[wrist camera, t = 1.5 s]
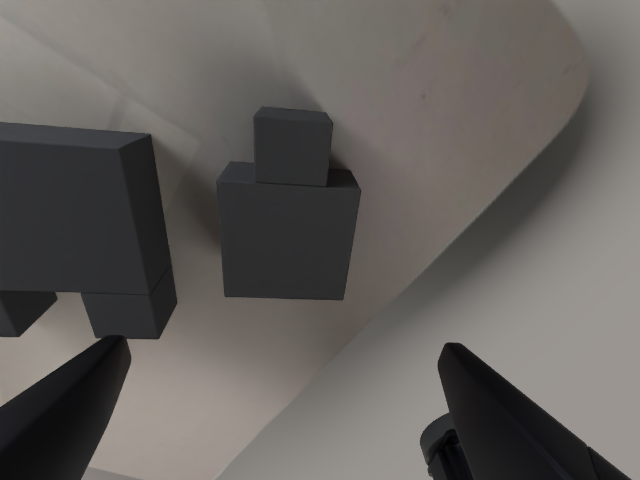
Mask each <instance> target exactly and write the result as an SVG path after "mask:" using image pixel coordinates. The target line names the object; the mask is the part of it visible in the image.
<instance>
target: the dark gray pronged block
mask: <svg viewBox="0 0 640 480" xmlns="http://www.w3.org/2000/svg"><path fill="white" fill-rule="evenodd" d="M170 262H171V258H170V252H169V245H168V239H167V233H166V226H165V220H164V214H163V208H162V201H161V195H160V189H159V182H158V176H157V170H156V164H155V157H154V151H153V145H152V138H151V134H144V133H131V132H118V131H105V130H93V129H80V128H67V127H55V126H42V125H29V124H17V123H4V122H0V337H20V336H21V335H22V334H23V333H24V332H25V331H26V330H27V329H28V328H29V327H30V326H31V325H32V324H33V323H34V322H35V321H36V320H37V319H38V318H39V317H40V316H41V315H42V314H43V313H44V312H45V311H47V310H48V309H49V308H50V307H51V306H52V305H53V304H54V303H55V302H56V301H57V296H56V294H55V292H79V293H81V297H82V300H83V303H84V306H85V308H86V311H87V314H88V317H89V320H90V323H91V326H92V329H93V332H94V335H95V337H96V338H104V337H105V336H107V335H123V336H125V337H126V339H159V338H160V336H161V334H162V332H163V330H164V328H165V326H166V325H167V323H168V321H169V319H170V317H171V315H172V313H173V311H174V309H175V307H176V305H177V297H176V291H175V284H174V278H173V272H172V266H171V263H170Z"/></svg>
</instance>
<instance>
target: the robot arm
mask: <svg viewBox="0 0 640 480" xmlns="http://www.w3.org/2000/svg"><path fill="white" fill-rule="evenodd" d="M130 364H131V354H130V350H129V346H128V343H127V339H126V337H125V336H123V335H107V336H105V337H104V338H102V339H101V340H99V341H98V342H96V343H95V344H93V345H92V346H90V347H89V348H87V349H86V350H84V351H83V352H81V353H80V354H78V355H77V356H75V357H74V358H72V359H71V360H69V361H68V362H66V363H65V364H63V365H62V366H60V367H59V368H58V369H56V370H55V371H53V372H52V373H50V374H49V375H47V376H46V377H44V378H43V379H41V380H40V381H38V382H37V383H35V384H34V385H32V386H31V387H29V388H28V389H26V390H25V391H23V392H22V393H20V394H19V395H17V396H16V397H14V398H13V399H12V400H10V401H9V402H7V403H6V404H4V405H3V406H1V407H0V480H81V478H82V476H83V474H84V472H85V470H86V468H87V466H88V464H89V462H90V460H91V458H92V456H93V454H94V452H95V450H96V448H97V446H98V444H99V442H100V440H101V438H102V436H103V434H104V431H105V429H106V427H107V425H108V423H109V420H110V418H111V415H112V413H113V410H114V407H115V405H116V402H117V399H118V397H119V394H120V391H121V389H122V386H123V383H124V381H125V378H126V375H127V372H128V370H129V367H130ZM438 371H439V375H440V378H441V382H442V386H443V389H444V393H445V397H446V401H447V404H448V408H449V412H450V415H451V419H452V422H453V425H454V428H455V429H449V430H447V431H446V432H445V434H444V436H443V438H442V440H441V442H440V444H439V446H438V448H437V450H436V452H435V455H434V457H433V459H432V461H431V463H430V465H429V467H428V473H429V475H430V476H431V477H433V479H434V480H631V479H630V478H628V477H627V476H626V475H625V474H624V473H622V472H621V471H619V470H618V469H617V468H616V467H615V466H613V465H612V464H611V463H609V462H608V461H607V460H606V459H604V458H603V457H602V456H601V455H599V454H598V453H597V452H596V451H594V450H593V449H592V448H591V447H589V446H587V445H586V444H585V443H584V442H583V441H582V440H581V439H579V438H578V437H577V436H575V435H574V434H573V433H572V432H571V431H569V430H568V429H567V428H566V427H564V426H563V425H562V424H561V423H559V422H558V421H557V420H556V419H554V418H553V417H552V416H551V415H549V414H548V413H547V412H546V411H545V410H543V409H542V408H541V407H540V406H538V405H537V404H536V403H535V402H533V401H532V400H531V399H530V398H528V397H527V396H526V395H525V394H523V393H522V392H521V391H520V390H518V389H517V388H516V387H515V386H513V385H512V384H511V383H510V382H508V381H507V380H506V379H505V378H503V377H502V376H501V375H500V374H498V373H497V372H496V371H495V370H493V369H492V368H491V367H490V366H488V365H487V364H486V363H485V362H483V361H482V360H481V359H480V358H479V357H477V356H476V355H475V354H474V353H472V352H471V351H470V350H468V349H467V348H466V347H465V346H464V345H462V344H460V343H446V344H445V345H444V347H443V350H442V352H441V355H440V357H439V360H438Z"/></svg>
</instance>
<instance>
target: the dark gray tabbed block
mask: <svg viewBox="0 0 640 480" xmlns="http://www.w3.org/2000/svg"><path fill="white" fill-rule="evenodd" d="M332 129H333V123H332V121H331V119H330V118H329V116H328V115H327V113H325V112H316V111H305V110H294V109H282V108H271V107H261V109H260V110H259V111H258V112H257V113H256V114H255V115H254V163H246V162H232V161H231V162H230V163H229V164H228V166H227V167H226V168H225V170H224V171H223V173H222V174H221V175H220V177H219V178H218V180H217V194H218V209H219V223H220V238H221V253H222V268H223V282H224V296H225V297H247V298H281V299H314V300H344V294H345V288H346V282H347V276H348V269H349V263H350V257H351V251H352V245H353V238H354V232H355V226H356V220H357V214H358V207H359V201H360V195H361V189H360V187H359V185H358V183H357V181H356V180H355V178H354V176H353V174H352V172H351V170H342V169H329V168H328V167H329V157H330V148H331V138H332Z"/></svg>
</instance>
